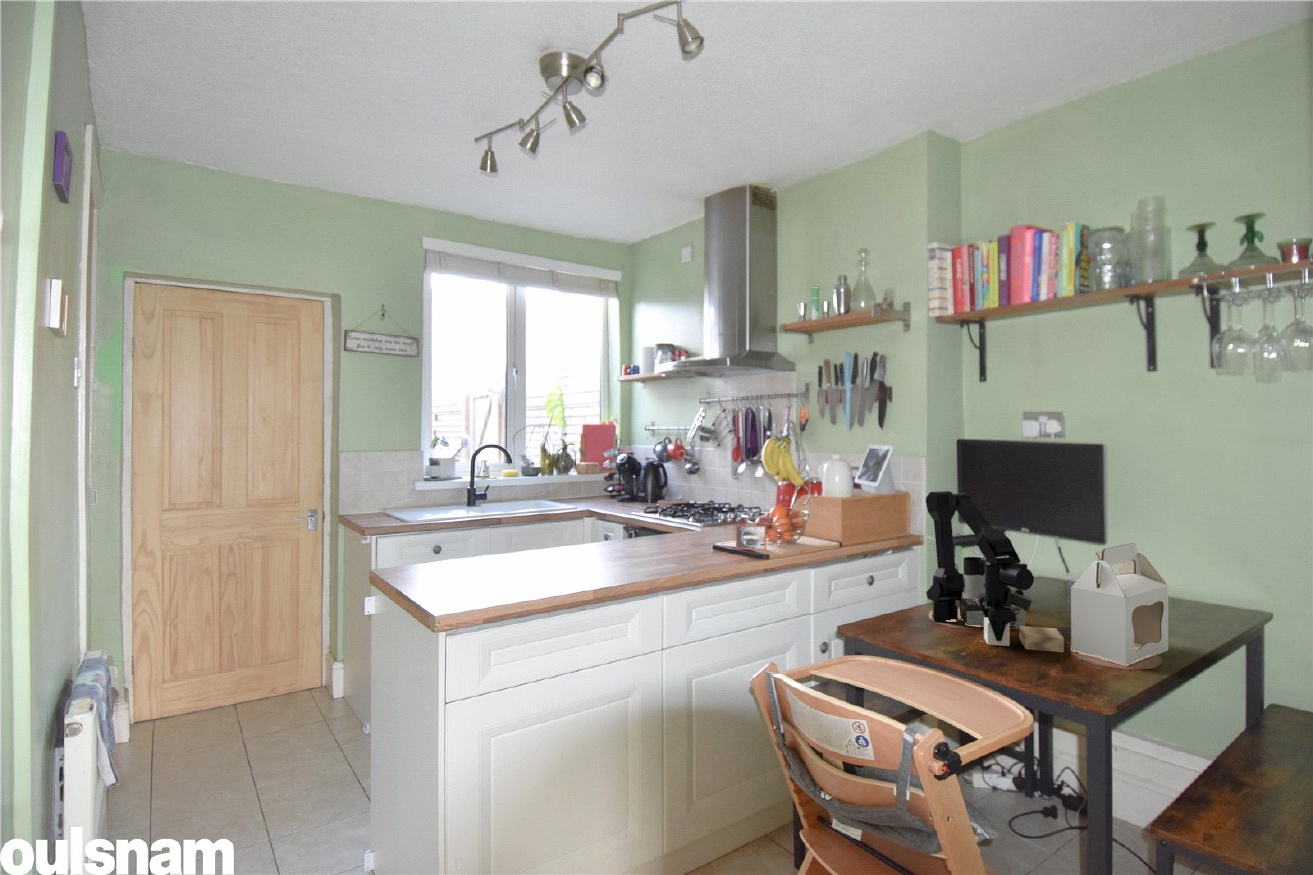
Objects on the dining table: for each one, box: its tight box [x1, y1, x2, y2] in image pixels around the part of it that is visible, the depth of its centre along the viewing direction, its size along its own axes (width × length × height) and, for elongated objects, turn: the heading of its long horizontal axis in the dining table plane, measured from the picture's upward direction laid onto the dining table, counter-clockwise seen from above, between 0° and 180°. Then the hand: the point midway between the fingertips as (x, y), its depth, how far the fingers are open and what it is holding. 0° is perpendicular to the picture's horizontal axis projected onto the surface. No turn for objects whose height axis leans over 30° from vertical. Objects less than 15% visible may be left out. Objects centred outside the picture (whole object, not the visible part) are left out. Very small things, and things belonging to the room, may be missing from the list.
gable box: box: [1070, 542, 1169, 665], centre depth 176 cm, size 22×13×28 cm, turn 120°
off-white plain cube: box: [983, 617, 1011, 647], centre depth 185 cm, size 5×5×6 cm
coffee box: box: [959, 597, 1026, 630], centre depth 201 cm, size 9×6×16 cm
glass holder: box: [955, 556, 985, 599], centre depth 224 cm, size 9×14×15 cm, turn 67°
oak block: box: [1018, 625, 1065, 653], centre depth 182 cm, size 9×9×4 cm
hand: (996, 637), depth 185 cm, fingers closed on off-white plain cube, 5 cm apart
